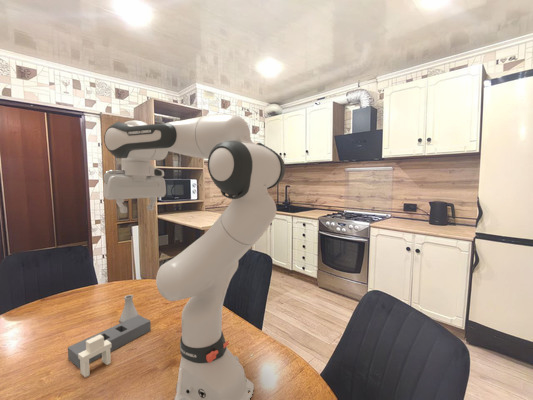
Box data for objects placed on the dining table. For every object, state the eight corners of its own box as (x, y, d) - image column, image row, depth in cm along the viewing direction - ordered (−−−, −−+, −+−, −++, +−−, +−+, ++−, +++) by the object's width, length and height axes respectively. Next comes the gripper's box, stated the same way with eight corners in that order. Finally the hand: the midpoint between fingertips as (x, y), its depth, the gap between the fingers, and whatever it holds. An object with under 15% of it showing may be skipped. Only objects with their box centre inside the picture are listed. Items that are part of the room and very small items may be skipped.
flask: (130, 325, 102) (129, 301, 101) (115, 323, 103) (114, 299, 103) (142, 315, 109) (142, 293, 108) (128, 314, 111) (127, 291, 110)
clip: (112, 362, 81) (111, 333, 80) (83, 378, 74) (82, 347, 74) (107, 358, 83) (106, 330, 82) (79, 374, 76) (77, 344, 75)
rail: (150, 330, 98) (150, 320, 98) (79, 368, 78) (78, 356, 78) (138, 324, 103) (138, 314, 102) (68, 358, 82) (67, 347, 82)
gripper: (108, 169, 75) (110, 215, 76) (168, 171, 92) (168, 209, 93) (98, 169, 78) (100, 213, 79) (157, 172, 95) (158, 208, 96)
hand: (137, 211), depth 86 cm, fingers open, 8 cm apart
